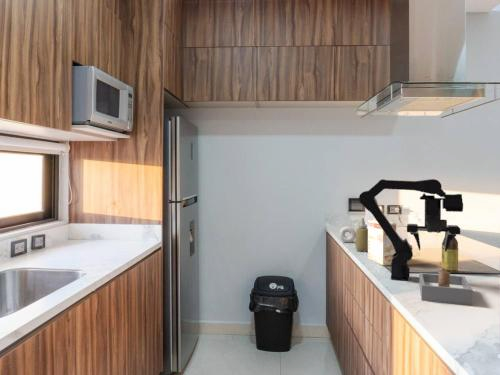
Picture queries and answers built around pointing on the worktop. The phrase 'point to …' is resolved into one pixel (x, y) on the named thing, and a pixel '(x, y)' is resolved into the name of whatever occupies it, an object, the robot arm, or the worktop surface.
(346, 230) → the donut
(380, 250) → the coffeecake box
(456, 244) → the sauce bottle
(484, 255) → the worktop surface
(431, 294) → the box
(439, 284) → the peg
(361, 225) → the squeeze bottle
